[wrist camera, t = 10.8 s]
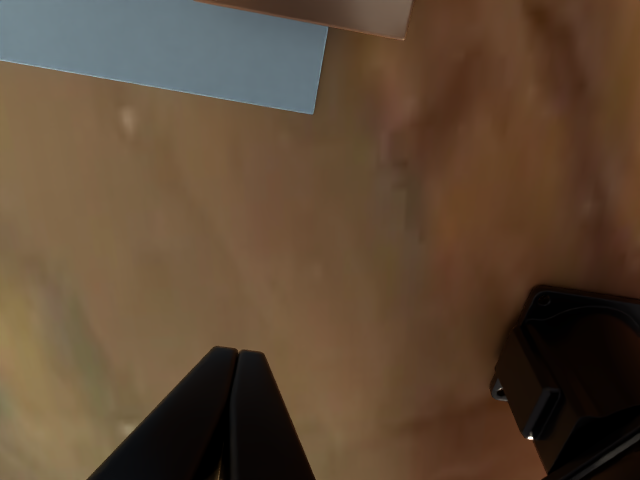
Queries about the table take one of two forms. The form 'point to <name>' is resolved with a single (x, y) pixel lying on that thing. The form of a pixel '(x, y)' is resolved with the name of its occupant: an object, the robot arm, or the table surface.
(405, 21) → the walnut block
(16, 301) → the table surface
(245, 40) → the placemat
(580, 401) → the robot arm
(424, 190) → the table surface
